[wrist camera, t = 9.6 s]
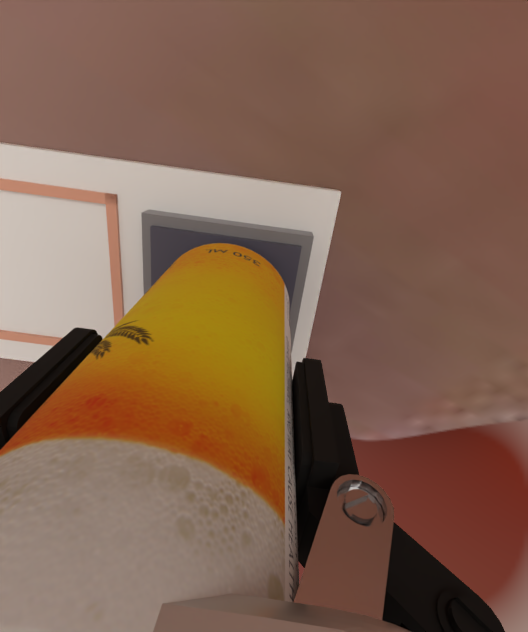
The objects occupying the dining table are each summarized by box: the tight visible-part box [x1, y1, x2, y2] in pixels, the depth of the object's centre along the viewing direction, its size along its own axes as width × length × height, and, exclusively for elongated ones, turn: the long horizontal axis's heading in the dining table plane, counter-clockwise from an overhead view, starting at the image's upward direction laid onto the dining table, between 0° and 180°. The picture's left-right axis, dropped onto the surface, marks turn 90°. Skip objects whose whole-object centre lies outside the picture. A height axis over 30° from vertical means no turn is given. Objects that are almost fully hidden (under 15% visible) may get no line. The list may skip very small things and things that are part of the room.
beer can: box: [0, 243, 299, 632], centre depth 10 cm, size 6×6×15 cm
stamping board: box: [0, 142, 341, 379], centre depth 18 cm, size 20×12×2 cm, turn 83°
